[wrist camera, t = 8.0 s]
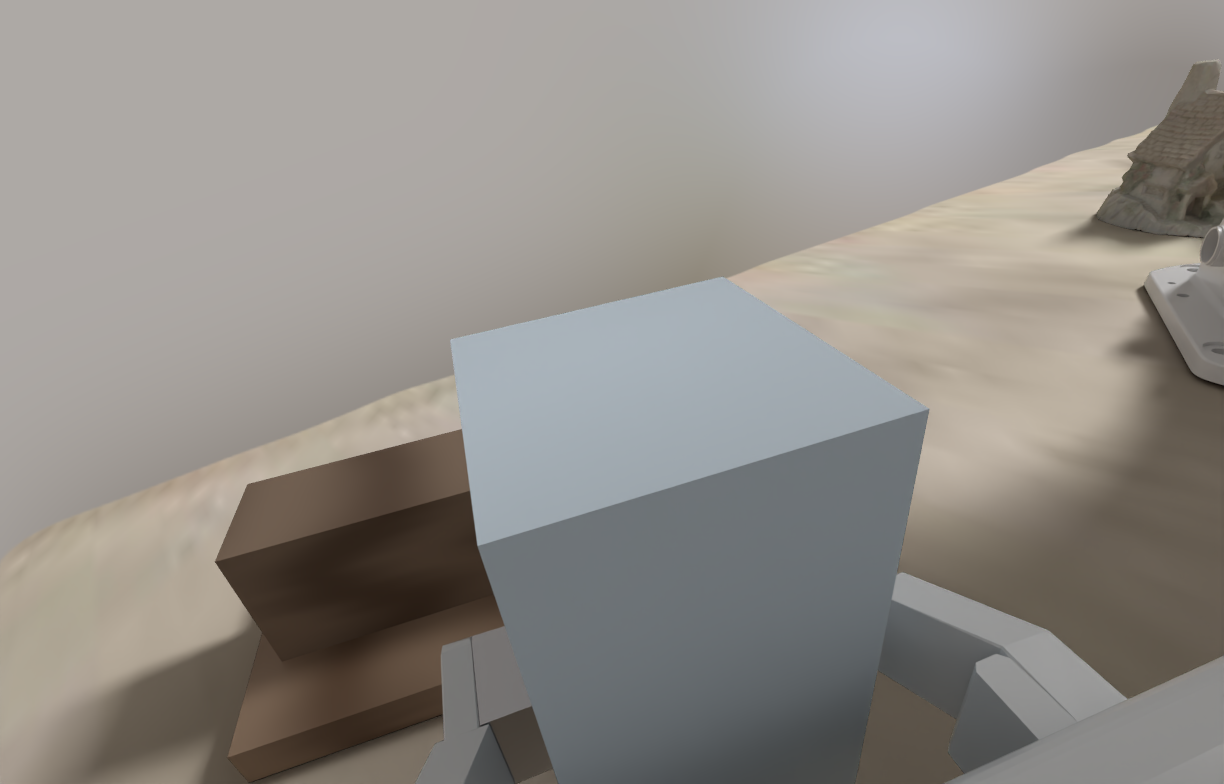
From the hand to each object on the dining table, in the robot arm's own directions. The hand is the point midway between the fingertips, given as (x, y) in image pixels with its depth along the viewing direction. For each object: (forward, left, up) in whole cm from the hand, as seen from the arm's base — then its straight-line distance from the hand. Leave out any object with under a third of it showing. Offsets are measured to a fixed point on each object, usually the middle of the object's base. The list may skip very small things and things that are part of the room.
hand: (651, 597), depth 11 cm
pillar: (+1, +1, -7) cm, 7 cm away
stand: (-9, -6, -10) cm, 15 cm away
